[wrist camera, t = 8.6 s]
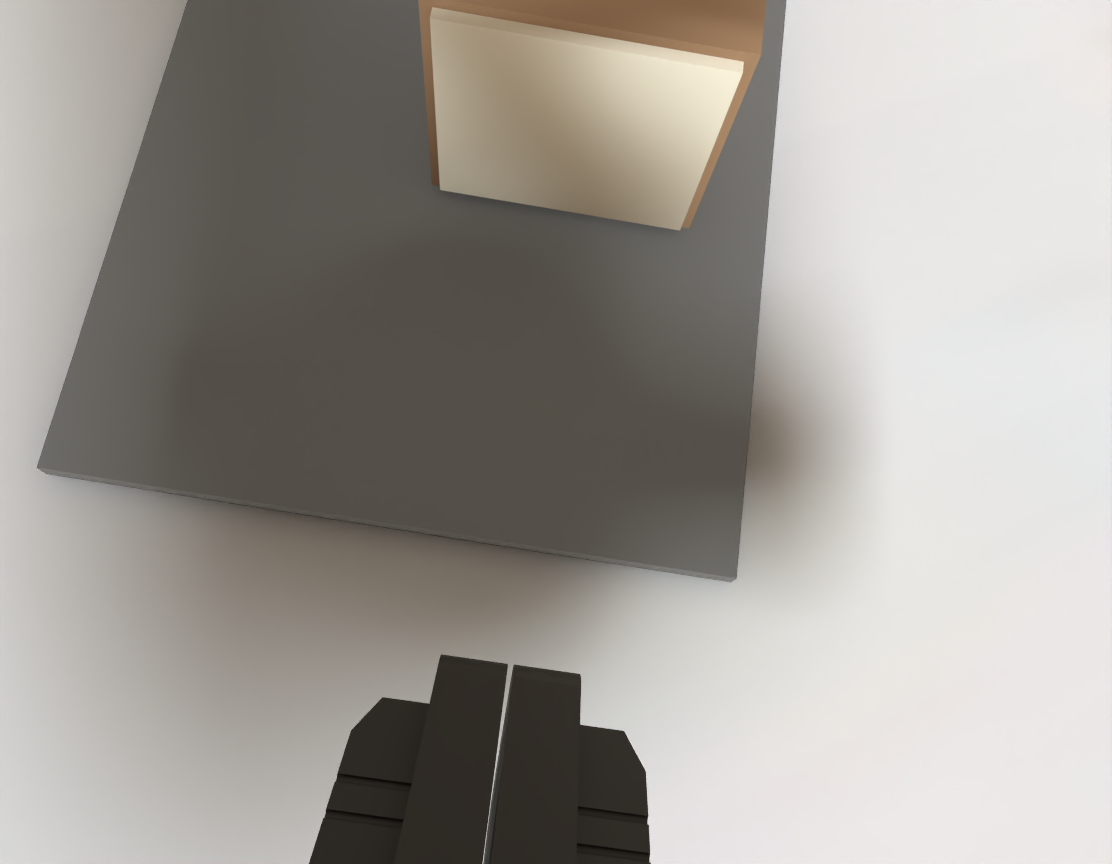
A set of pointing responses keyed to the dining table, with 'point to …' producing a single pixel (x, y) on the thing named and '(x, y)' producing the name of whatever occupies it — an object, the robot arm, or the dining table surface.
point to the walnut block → (586, 100)
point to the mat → (412, 312)
